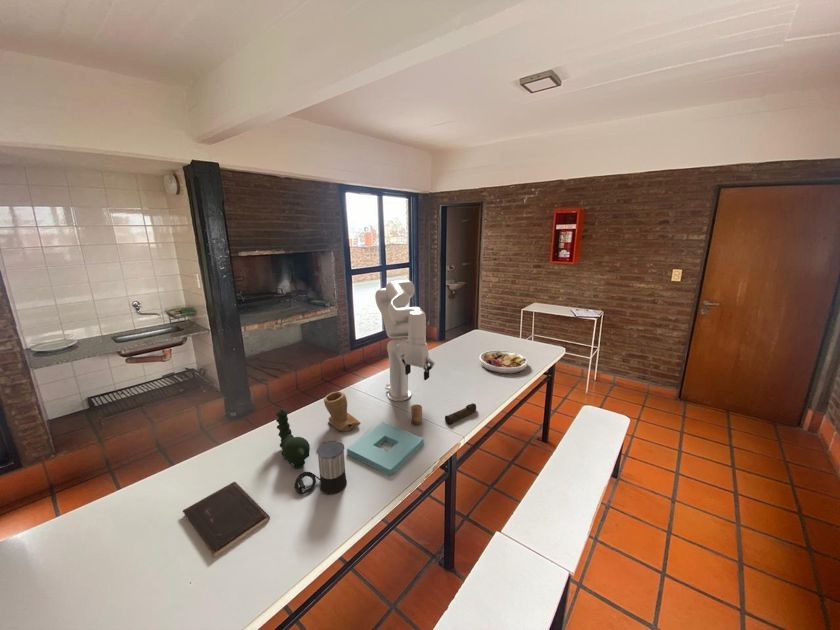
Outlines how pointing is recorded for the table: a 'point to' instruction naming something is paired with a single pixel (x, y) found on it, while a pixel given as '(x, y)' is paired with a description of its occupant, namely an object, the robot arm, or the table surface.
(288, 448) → the toy figurine
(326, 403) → the tan boot-shaped piece
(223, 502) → the hardcover book
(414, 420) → the cylinder
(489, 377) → the table surface
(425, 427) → the table surface
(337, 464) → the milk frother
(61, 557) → the table surface
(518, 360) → the bowl
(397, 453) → the square hole plate
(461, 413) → the hand tool
